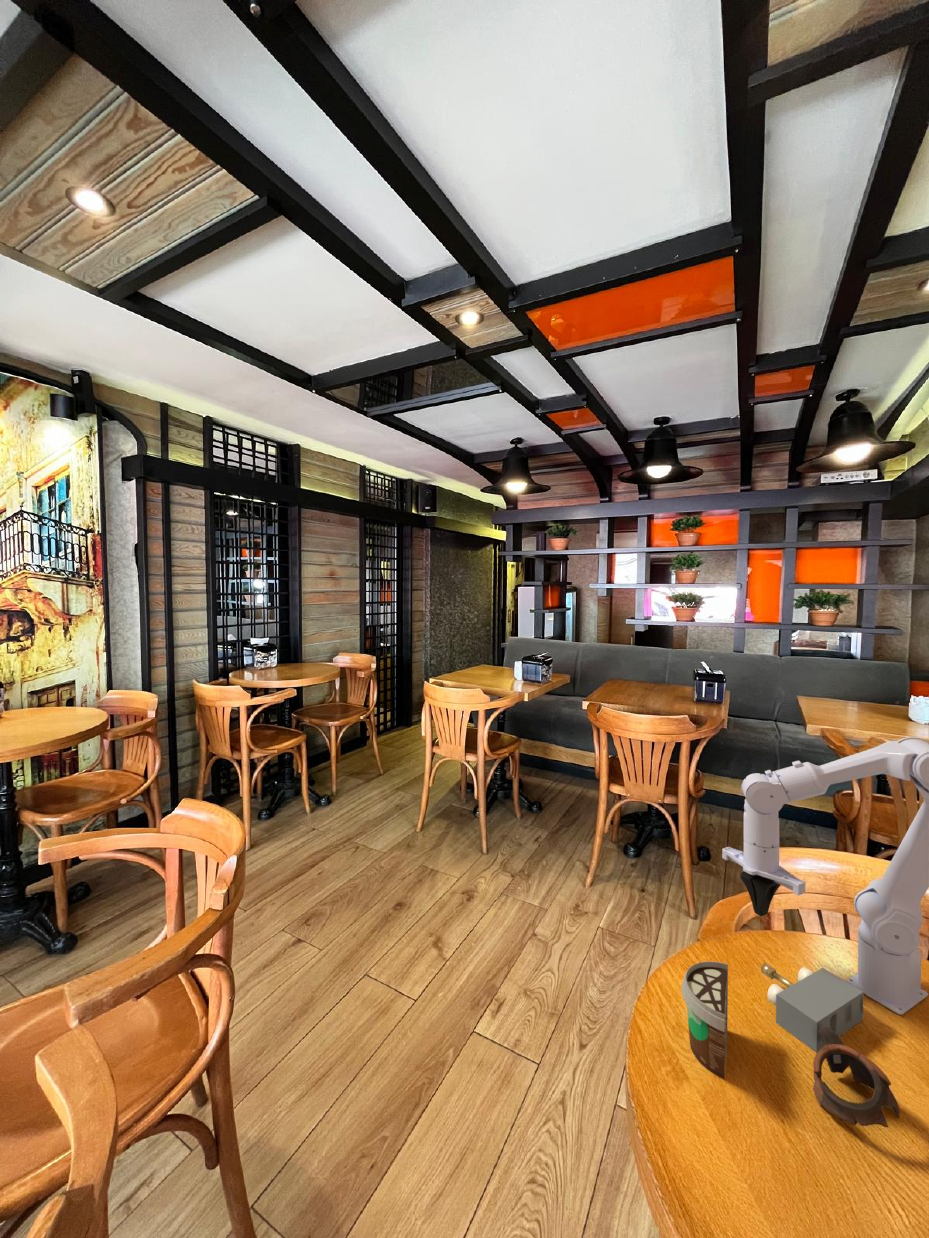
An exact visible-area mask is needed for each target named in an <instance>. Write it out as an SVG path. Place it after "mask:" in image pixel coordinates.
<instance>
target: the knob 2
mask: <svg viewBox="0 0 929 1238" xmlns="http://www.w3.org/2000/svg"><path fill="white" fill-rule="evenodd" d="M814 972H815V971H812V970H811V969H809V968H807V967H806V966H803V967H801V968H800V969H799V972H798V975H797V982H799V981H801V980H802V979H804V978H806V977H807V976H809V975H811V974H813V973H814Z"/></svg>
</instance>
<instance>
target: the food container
mask: <svg viewBox="0 0 929 1238" xmlns="http://www.w3.org/2000/svg"><path fill="white" fill-rule="evenodd" d="M728 976H729V964H727V963H724V962H720V961H713V960H712V961H711V960H708V961H706V960H705V961H700V962H697V963H694V964H692V965H691V966H689V968H688V969H687V970H686V972H685V974H684V977H683V980H682V983H681V994H682V998H683V1001H684V1003H685V1004H686V1010H687V1011H686V1012H687V1023H688V1035H689V1037H688V1038H689V1047H690V1050H691V1052H692V1054H693V1055H694V1057H695V1058H696V1060H697V1061H698V1063H700V1064H701V1065H702V1066H703V1067H704V1068H705V1069H706V1070H708V1071H709V1072H710V1073H711V1074H713V1075H715V1076H717V1077H718V1078H720V1079H723V1080H726V1065H727V1063H726V1062H727V1047H728V1043H727V1042H728V1017H729V1016H728V1014H729V1013H728V1004H729V1003H728V1002H729V1001H728V997H729V995H728V994H729V993H728V992H729V991H728V990H729V989H728V988H729V987H728V986H729V980H728V979H729V977H728Z"/></svg>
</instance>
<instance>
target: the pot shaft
mask: <svg viewBox="0 0 929 1238" xmlns="http://www.w3.org/2000/svg"><path fill="white" fill-rule="evenodd" d="M776 969H777V968H774V967H773V966H771V965H770V964H768V963H766V962H764V963H762V965H761V967H760V972H761V974H762V975H764V976H766V977H768V978H769V979H771V980H776V981H778V982H779V983H781V984H782V985H784V986H785V987H786V988H788V987H790V986H792V985H794V984H795V983H793V982H792V981H790V980H789V979H787V978H785V977H784V976H782V975H781V974H779V973H778V972H777V970H776Z"/></svg>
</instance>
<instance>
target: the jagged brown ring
mask: <svg viewBox="0 0 929 1238" xmlns="http://www.w3.org/2000/svg"><path fill="white" fill-rule="evenodd" d="M819 1035H820V1037H821V1039H822V1041H823V1044H824V1047H823V1048H822V1049H820V1050H819V1051H818V1052H817V1053H816V1054H815V1056H814V1060H813V1080H814V1083H813V1086H812V1090H813V1091H812V1092H813V1094H814V1096H815V1099H816V1101H817V1103H818V1105H819V1106H820V1107H823V1108H824V1110H826V1111H828V1112H829V1113H831V1114H833V1115H834V1116H836V1117H837V1118H838V1119H841V1120H843V1121H844V1122H847V1123H849V1124H851V1125H853V1126H857V1124H858V1125H860V1126H863V1127H868V1126H872V1125H873V1126H874V1125H877V1126H878V1125H879V1126H882V1127H884V1128H887V1129H888V1128H889V1125H888V1122H887V1118H886V1116H885V1113H884V1110H883V1107H885V1108H886V1109H892V1111H893V1113H894V1116H895V1117H896V1118H899V1119H900V1114H901V1113H900V1112H901V1108H900V1105H899V1103H898V1100H897V1099H896V1097H895V1095H894V1094H893V1092H892V1090H891V1088H890V1086H891V1085H892V1082H891V1081H890V1079H889V1078H888V1076H887V1075H886V1073H884V1071H883V1070H882V1069H881V1067H879V1066H878V1064H876V1063H875V1062H874V1061H873V1060H872V1059H870V1058H869V1057H868V1056H866V1055H864V1054H862V1053H861V1052H859V1051H858V1050H855V1049H854V1048H852V1047H850V1046H847V1045H845V1043H844V1042H843V1041H842V1039H841V1038H840V1036H839V1037H838V1035H837V1034H836V1033H835V1032H834V1031H833V1030H832V1029H831V1028H830V1027H827V1026H826V1027H823V1028H821V1029H820V1030H819ZM825 1060H826V1062H827V1066H828V1067H829V1068H828V1069H829V1071H830V1072H831V1073H834V1074H835V1073H839V1074H844V1073H845V1071H846V1070H847V1069H848V1068H850V1072H851V1075H852V1079H853V1082H854V1083H855V1084H859V1085H863V1086H865V1087H866V1086H867V1087H868V1088H871V1089H872V1090H874V1091H873V1094H872V1096H871V1098H869V1099H868V1100H865V1101H863V1102H851V1101H848V1100H847V1099H844V1098H841V1096H838V1095H837V1094H836V1093H835V1092H833V1091H832V1090H831V1089H830V1087H829V1086H828V1085H827V1083H826V1082H825V1081H823V1079H822V1074H823V1072H822V1067H823V1064H824V1062H825Z"/></svg>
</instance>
